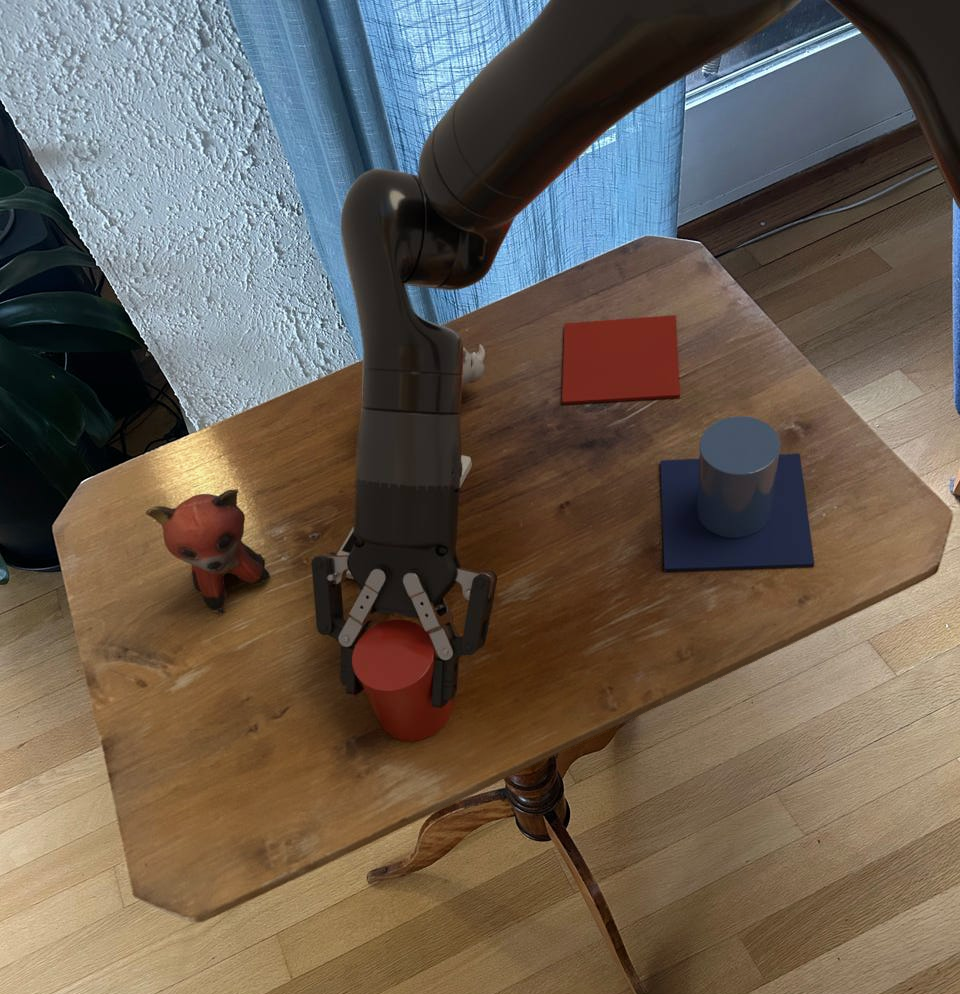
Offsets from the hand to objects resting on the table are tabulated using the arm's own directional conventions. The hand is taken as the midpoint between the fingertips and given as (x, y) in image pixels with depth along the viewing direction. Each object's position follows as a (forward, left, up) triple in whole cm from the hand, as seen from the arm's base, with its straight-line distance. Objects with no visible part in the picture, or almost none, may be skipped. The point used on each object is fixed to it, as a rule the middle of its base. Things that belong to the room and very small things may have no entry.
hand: (397, 697), depth 77 cm
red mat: (-17, -40, -4) cm, 43 cm away
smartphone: (+3, -21, -4) cm, 22 cm away
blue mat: (-26, -20, -4) cm, 33 cm away
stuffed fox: (+18, -16, -5) cm, 24 cm away
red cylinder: (0, -2, -4) cm, 5 cm away
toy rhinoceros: (+1, -34, -5) cm, 34 cm away
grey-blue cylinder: (-26, -20, -4) cm, 33 cm away
